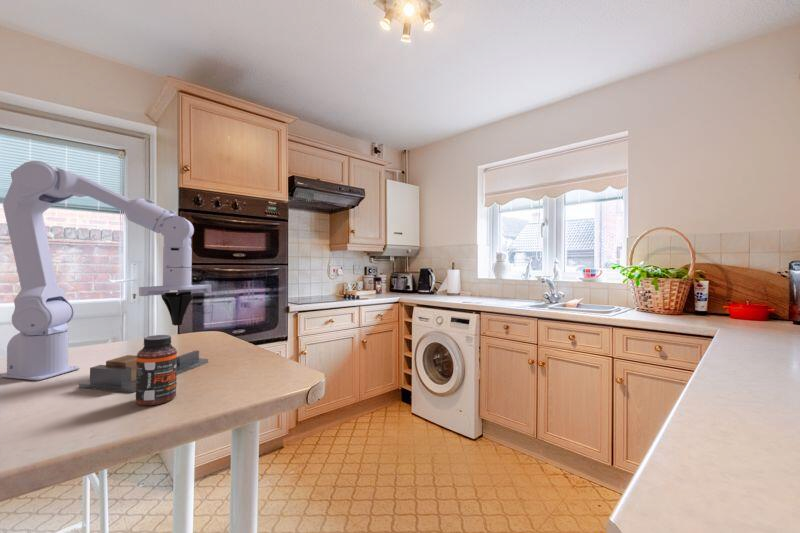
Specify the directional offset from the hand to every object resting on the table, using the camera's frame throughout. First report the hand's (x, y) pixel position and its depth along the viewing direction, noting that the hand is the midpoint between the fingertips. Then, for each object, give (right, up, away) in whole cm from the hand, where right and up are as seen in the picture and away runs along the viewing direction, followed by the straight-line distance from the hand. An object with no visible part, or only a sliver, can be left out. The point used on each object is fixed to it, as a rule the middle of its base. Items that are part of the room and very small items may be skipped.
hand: (176, 324), depth 83 cm
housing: (-2, -9, -12) cm, 15 cm away
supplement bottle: (+10, -10, -21) cm, 25 cm away
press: (-1, -10, -7) cm, 12 cm away
